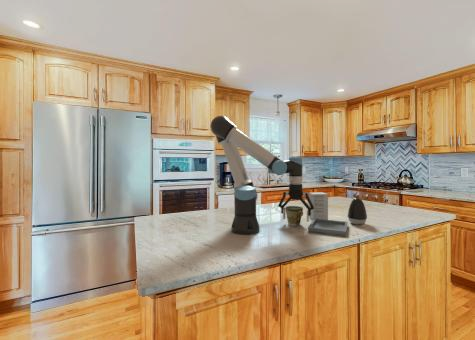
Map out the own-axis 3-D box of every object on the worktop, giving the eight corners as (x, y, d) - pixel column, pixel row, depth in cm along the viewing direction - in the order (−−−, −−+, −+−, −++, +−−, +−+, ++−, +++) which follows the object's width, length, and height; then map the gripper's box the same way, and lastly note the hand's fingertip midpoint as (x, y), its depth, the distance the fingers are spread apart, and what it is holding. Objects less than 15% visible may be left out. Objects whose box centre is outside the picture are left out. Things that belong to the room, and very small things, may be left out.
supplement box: (328, 221, 148) (328, 194, 148) (313, 221, 148) (313, 194, 148) (323, 217, 158) (323, 192, 157) (308, 217, 158) (308, 192, 157)
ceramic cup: (282, 223, 144) (282, 206, 144) (295, 221, 148) (295, 205, 148) (295, 228, 133) (295, 210, 132) (310, 226, 137) (310, 209, 136)
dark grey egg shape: (367, 222, 144) (367, 197, 144) (366, 226, 135) (366, 199, 135) (349, 220, 150) (349, 196, 149) (346, 224, 141) (346, 198, 140)
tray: (308, 232, 126) (308, 227, 126) (314, 222, 145) (314, 218, 145) (345, 236, 118) (345, 231, 118) (347, 226, 137) (347, 221, 137)
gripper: (272, 183, 142) (273, 219, 143) (317, 184, 131) (317, 223, 132) (276, 182, 148) (276, 216, 149) (319, 183, 138) (319, 220, 138)
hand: (295, 220), depth 140 cm, fingers open, 13 cm apart
